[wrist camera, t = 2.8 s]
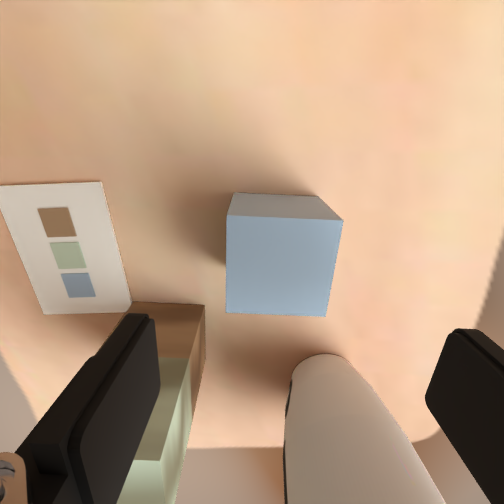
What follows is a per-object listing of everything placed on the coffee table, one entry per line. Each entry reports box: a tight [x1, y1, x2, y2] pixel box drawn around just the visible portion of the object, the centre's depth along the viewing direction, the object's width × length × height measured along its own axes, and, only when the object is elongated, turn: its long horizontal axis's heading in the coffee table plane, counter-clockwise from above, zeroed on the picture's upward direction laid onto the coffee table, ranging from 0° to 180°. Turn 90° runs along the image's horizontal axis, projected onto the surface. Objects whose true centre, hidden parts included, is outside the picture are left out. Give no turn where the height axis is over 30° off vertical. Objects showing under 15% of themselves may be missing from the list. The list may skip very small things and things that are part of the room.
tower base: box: [95, 302, 206, 504], centre depth 16 cm, size 5×5×10 cm
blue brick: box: [226, 192, 343, 317], centre depth 15 cm, size 5×5×5 cm
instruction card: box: [0, 182, 132, 315], centre depth 18 cm, size 9×6×1 cm
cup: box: [283, 354, 446, 504], centre depth 17 cm, size 8×8×10 cm
